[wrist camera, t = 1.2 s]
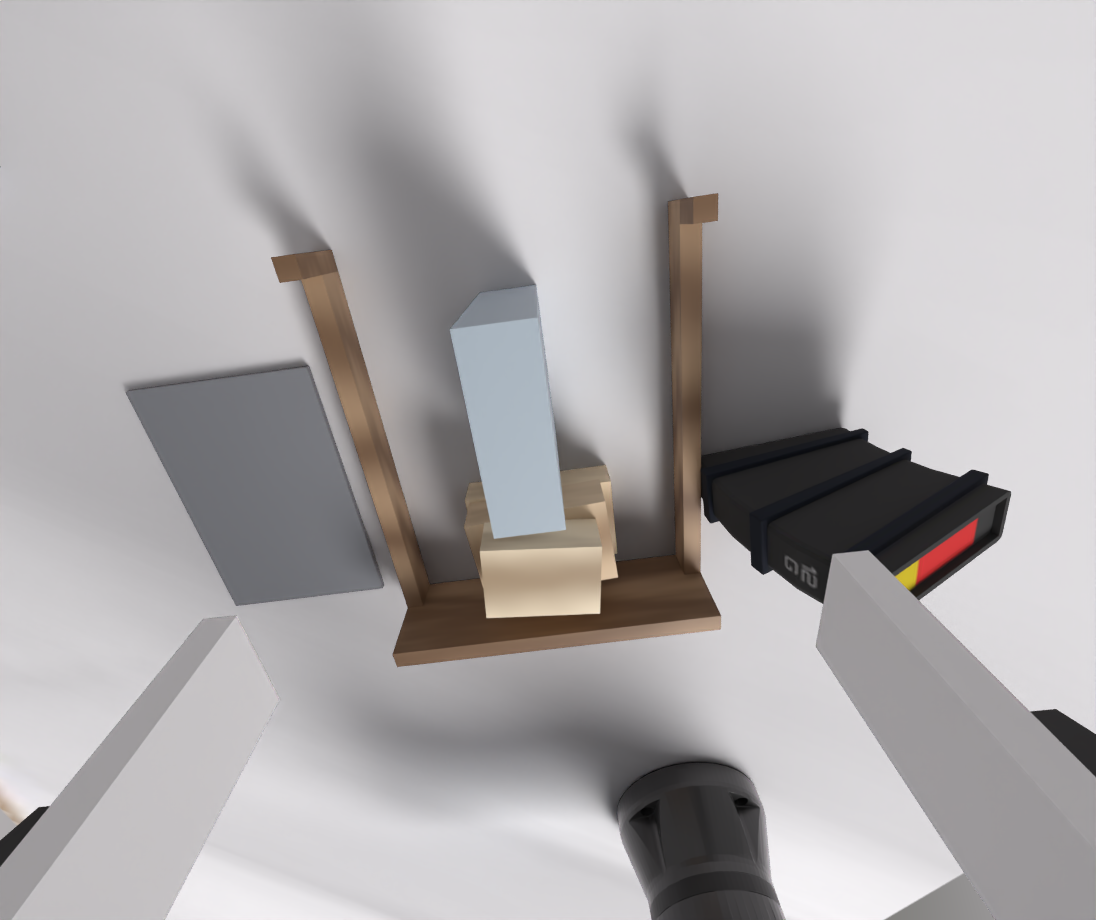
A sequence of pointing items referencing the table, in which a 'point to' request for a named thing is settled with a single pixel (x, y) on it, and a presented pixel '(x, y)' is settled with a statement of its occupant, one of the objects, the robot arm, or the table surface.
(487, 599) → the offcut top
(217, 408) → the mat
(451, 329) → the pale blue chunky brick
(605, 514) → the block
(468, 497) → the block
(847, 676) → the robot arm
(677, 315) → the rack
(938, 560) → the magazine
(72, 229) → the table surface
